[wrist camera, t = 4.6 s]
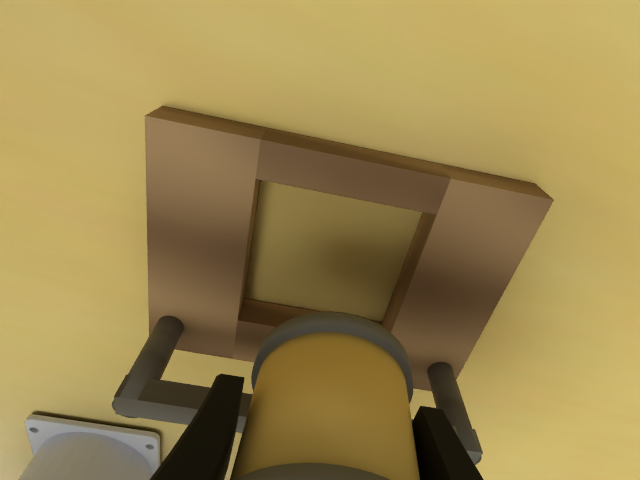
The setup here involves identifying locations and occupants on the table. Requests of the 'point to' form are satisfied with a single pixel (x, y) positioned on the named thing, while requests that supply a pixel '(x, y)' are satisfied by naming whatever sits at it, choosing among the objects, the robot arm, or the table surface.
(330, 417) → the cord reel
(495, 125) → the table surface
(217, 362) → the table surface
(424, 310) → the brown piece
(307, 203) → the table surface
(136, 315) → the table surface
